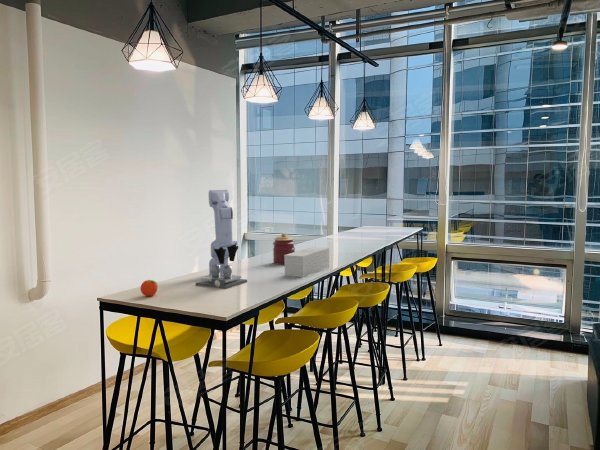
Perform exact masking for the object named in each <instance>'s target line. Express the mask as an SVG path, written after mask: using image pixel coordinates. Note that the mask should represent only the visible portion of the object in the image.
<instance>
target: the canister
mask: <svg viewBox="0 0 600 450" xmlns="http://www.w3.org/2000/svg"><path fill="white" fill-rule="evenodd" d="M273 240H274V241H273V242H272V245H273V248H272V249H273V255H272V256H273V260H272V261H273V264H275V265H285V264H284V255H287V254H290V253H293V252H296V248H295V243H296V242H295V241H294V238H293V237H292V236H288V235H287V234H286V233H285V232H282V233H281V236H280V235H279V236H276V237H275V238H274V239H273Z"/></svg>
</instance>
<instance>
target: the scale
mask: <svg viewBox="0 0 600 450" xmlns="http://www.w3.org/2000/svg"><path fill="white" fill-rule="evenodd" d="M245 283H248V279H245V278H240V279H236V280H233V281H230V282H227V283H225V280H221V279H211V281H204V280H200V281H196V282H195V286H200V287H208V288H216V289H225V290H227V289H231V288H234V287H236V286H239V285H242V284H245Z"/></svg>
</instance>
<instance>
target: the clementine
mask: <svg viewBox="0 0 600 450" xmlns="http://www.w3.org/2000/svg"><path fill="white" fill-rule="evenodd" d="M158 286H159V285H158V282H156V281H155V280H152V279H148V280H146V279H145V280H144V281H143V282H142V283H141V285H140V289H139V290H140V292H141V294H142V295H143V296H145V297H152V296H154V295H155V294H156V293H157V292H158Z"/></svg>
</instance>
